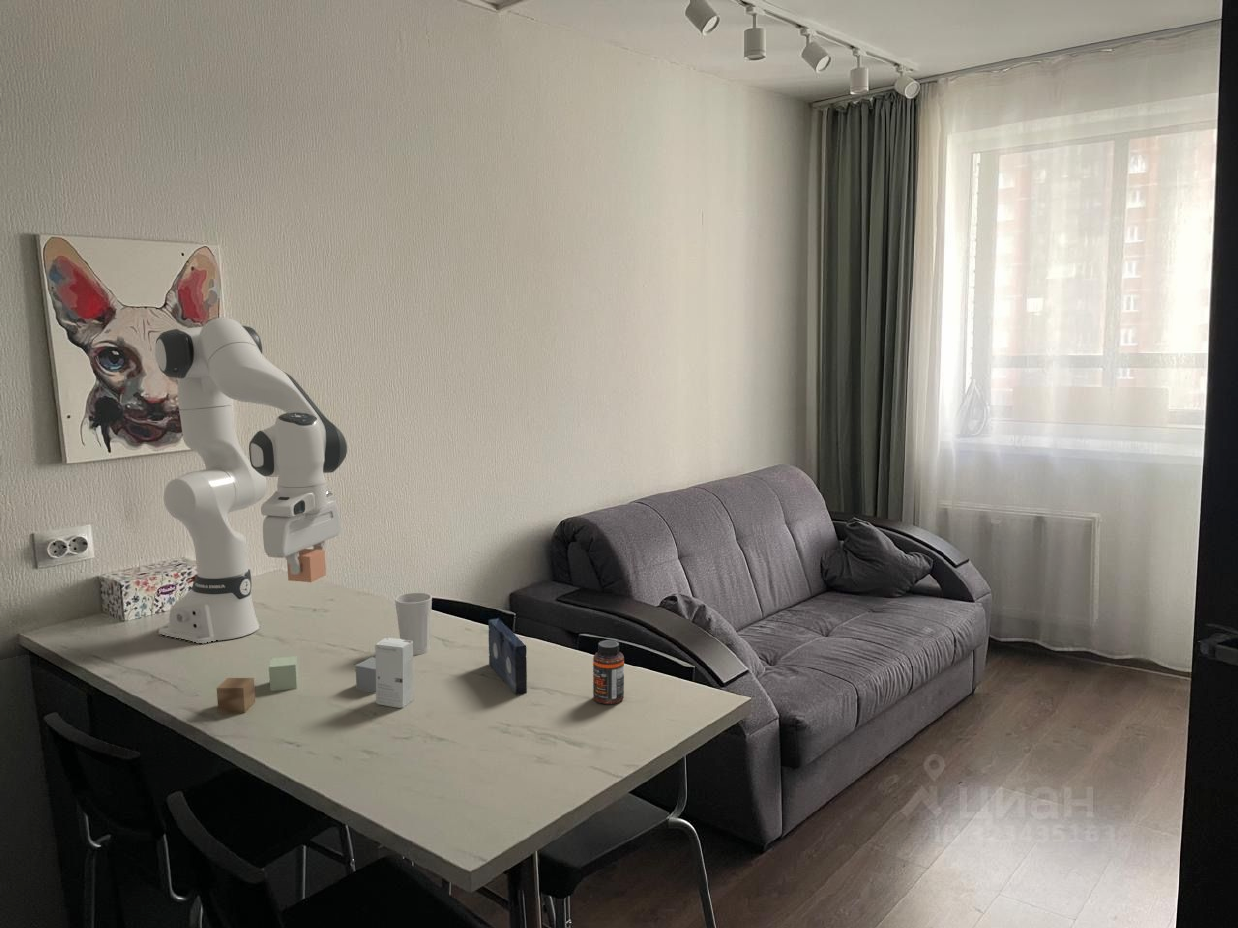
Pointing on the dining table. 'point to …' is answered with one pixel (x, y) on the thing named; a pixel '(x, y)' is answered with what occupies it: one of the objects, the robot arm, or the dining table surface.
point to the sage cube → (283, 673)
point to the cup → (415, 619)
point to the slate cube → (366, 675)
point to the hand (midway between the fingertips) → (306, 569)
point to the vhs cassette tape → (507, 656)
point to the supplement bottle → (608, 673)
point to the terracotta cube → (309, 566)
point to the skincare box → (394, 672)
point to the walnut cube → (236, 695)
